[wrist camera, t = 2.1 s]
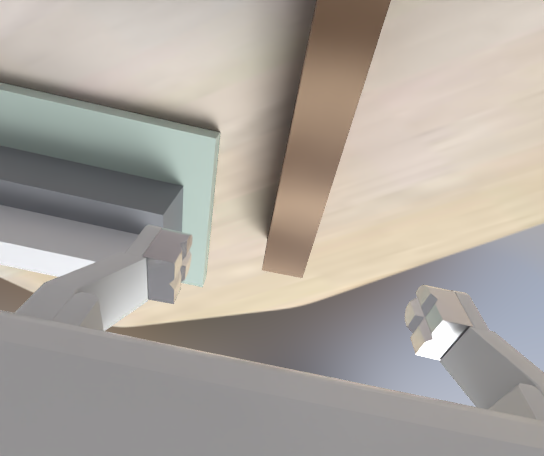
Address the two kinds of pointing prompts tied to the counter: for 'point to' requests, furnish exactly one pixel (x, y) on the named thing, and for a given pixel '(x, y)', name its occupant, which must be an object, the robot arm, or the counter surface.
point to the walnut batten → (321, 124)
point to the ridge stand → (97, 182)
